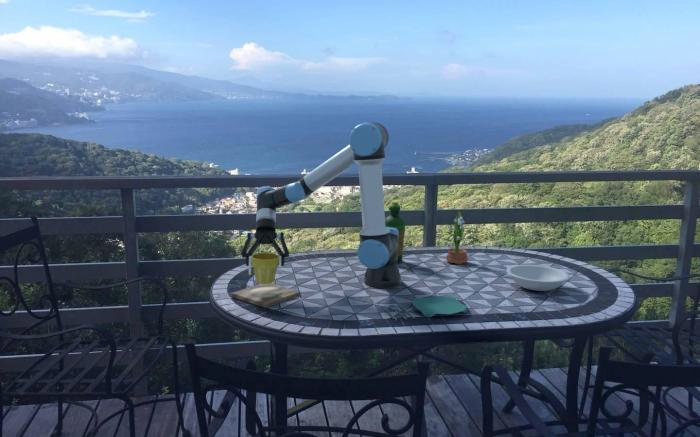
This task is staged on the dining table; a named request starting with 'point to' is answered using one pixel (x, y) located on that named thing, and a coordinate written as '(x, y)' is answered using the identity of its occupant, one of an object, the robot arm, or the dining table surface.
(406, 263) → the dining table surface
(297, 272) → the dining table surface
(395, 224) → the bottle
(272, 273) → the plant pot
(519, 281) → the soup bowl
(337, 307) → the dining table surface
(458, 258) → the potted flower
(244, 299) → the trivet board
